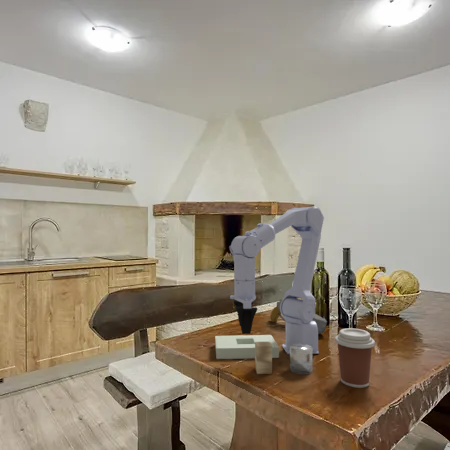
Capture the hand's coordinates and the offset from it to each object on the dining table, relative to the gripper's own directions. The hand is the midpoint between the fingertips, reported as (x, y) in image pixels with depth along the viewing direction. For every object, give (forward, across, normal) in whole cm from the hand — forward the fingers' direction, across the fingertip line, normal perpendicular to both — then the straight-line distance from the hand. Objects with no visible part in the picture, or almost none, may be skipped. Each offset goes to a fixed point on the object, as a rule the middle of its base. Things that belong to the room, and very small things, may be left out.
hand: (244, 329), depth 97 cm
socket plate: (+10, -11, +1) cm, 14 cm away
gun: (+10, -35, +23) cm, 43 cm away
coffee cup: (+10, +12, +26) cm, 30 cm away
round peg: (+10, +4, +14) cm, 18 cm away
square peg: (+10, +4, +4) cm, 11 cm away
